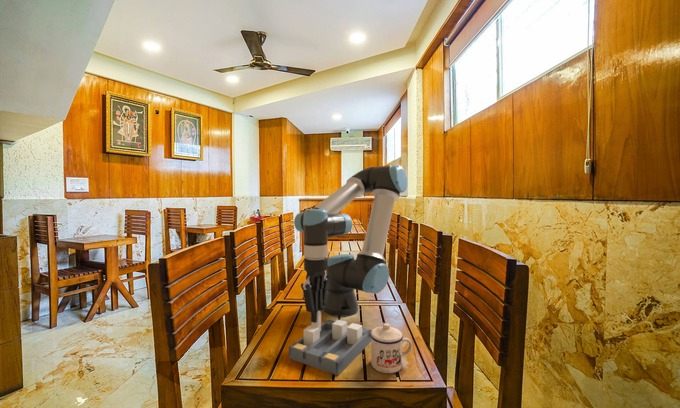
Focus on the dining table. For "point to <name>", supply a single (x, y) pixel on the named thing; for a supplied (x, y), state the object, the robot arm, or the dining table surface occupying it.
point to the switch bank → (329, 350)
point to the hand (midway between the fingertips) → (316, 330)
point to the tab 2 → (339, 329)
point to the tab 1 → (311, 335)
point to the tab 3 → (354, 333)
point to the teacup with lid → (387, 349)
